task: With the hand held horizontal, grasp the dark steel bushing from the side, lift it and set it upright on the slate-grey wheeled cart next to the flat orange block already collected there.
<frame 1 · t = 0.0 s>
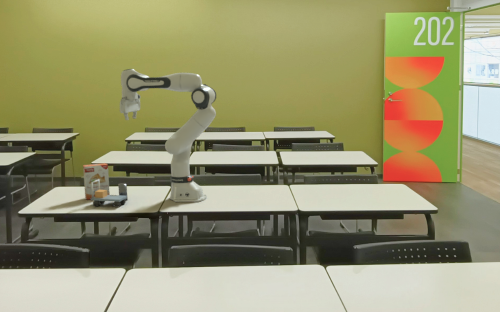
hand: (130, 119, 289), 48 cm above the table, tool pointing down, fingers open, 8 cm apart
orange block: (101, 196, 277), point 5 cm above the table, touching cart
cart: (109, 204, 277), on the table
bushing: (123, 200, 287), on the table
cracker box: (97, 197, 294), on the table
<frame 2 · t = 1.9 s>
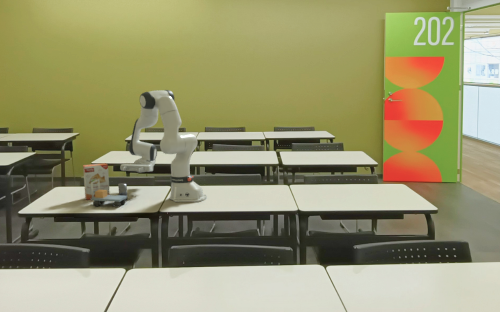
hand: (131, 169, 296), 16 cm above the table, tool horizontal, fingers open, 8 cm apart
nothing on the table moved.
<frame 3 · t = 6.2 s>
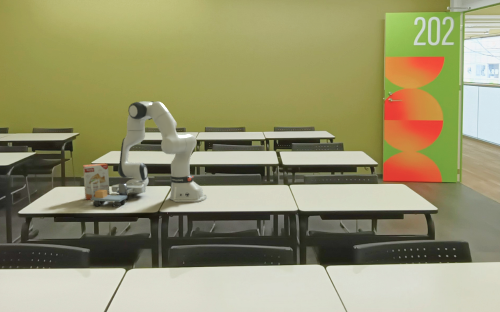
hand: (122, 191, 285), 6 cm above the table, tool horizontal, fingers closed on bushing, 5 cm apart
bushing: (123, 200, 287), on the table, touching gripper
everything else where it was.
when the fingers open (12 cm above the table, at t = 11.0 s): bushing drops 1 cm, resting on cart.
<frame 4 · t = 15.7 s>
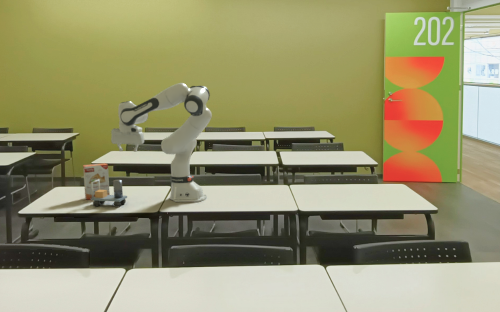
hand: (128, 151, 287), 29 cm above the table, tool pointing down, fingers open, 8 cm apart
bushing: (118, 197, 275), point 5 cm above the table, touching cart
everything else where it was.
at the end: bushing inside the target area on the cart (6.0 cm from its centre), point 4.8 cm above the cart's base; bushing tilted 0°; the gripper is holding nothing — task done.
